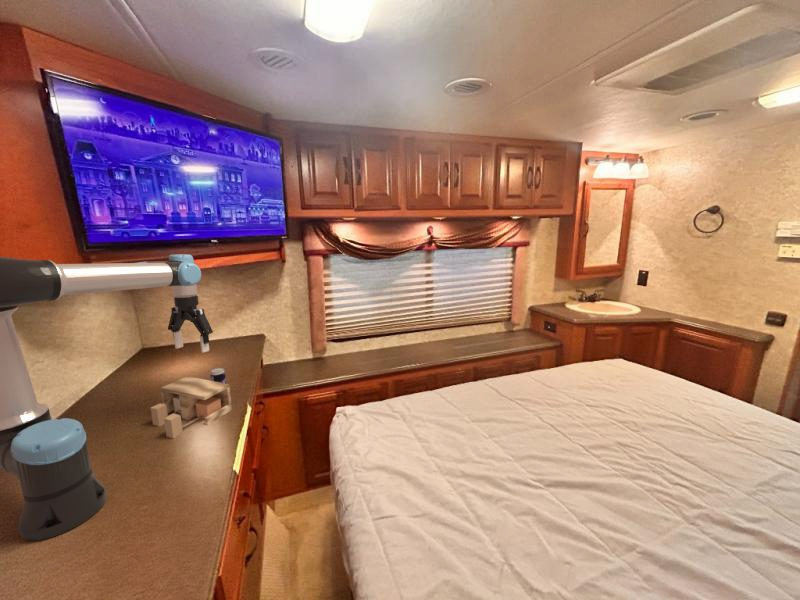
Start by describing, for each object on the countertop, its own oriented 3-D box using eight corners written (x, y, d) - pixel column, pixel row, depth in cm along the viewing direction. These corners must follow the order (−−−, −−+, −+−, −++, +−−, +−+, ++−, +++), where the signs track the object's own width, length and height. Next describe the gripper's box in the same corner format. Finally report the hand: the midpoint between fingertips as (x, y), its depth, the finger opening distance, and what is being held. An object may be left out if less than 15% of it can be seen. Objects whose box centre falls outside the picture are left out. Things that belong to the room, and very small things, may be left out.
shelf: (207, 424, 118) (204, 397, 116) (164, 413, 125) (160, 387, 123) (231, 409, 129) (229, 384, 127) (190, 400, 136) (187, 376, 134)
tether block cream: (161, 427, 117) (159, 409, 115) (150, 424, 118) (147, 407, 117) (199, 407, 131) (197, 391, 129) (188, 404, 133) (186, 389, 131)
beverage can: (220, 399, 137) (218, 373, 135) (209, 397, 138) (206, 372, 136) (230, 393, 143) (227, 368, 141) (219, 391, 144) (216, 367, 142)
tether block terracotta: (176, 439, 110) (173, 421, 108) (163, 435, 111) (161, 417, 110) (221, 412, 127) (220, 396, 126) (210, 409, 129) (208, 393, 128)
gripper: (219, 296, 119) (225, 349, 123) (171, 292, 126) (178, 343, 130) (201, 299, 112) (208, 356, 115) (152, 295, 119) (159, 348, 123)
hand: (192, 349), depth 123 cm, fingers open, 13 cm apart
